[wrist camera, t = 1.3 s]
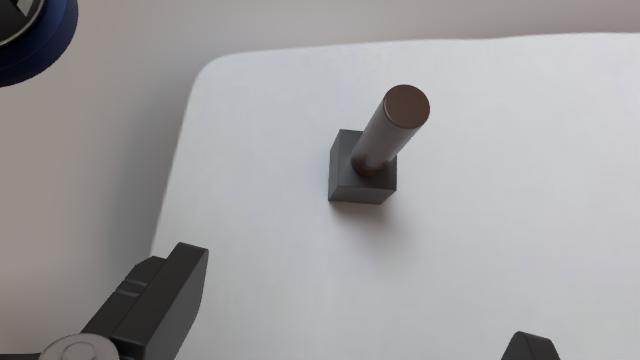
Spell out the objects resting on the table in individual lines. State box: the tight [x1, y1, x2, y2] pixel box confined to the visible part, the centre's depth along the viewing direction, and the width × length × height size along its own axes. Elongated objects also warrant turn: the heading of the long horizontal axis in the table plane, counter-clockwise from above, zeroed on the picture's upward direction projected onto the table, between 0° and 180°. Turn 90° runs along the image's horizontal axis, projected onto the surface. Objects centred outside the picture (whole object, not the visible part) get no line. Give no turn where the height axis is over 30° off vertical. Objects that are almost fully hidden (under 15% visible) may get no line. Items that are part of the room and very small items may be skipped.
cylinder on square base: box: [328, 85, 430, 205], centre depth 28 cm, size 4×4×12 cm
